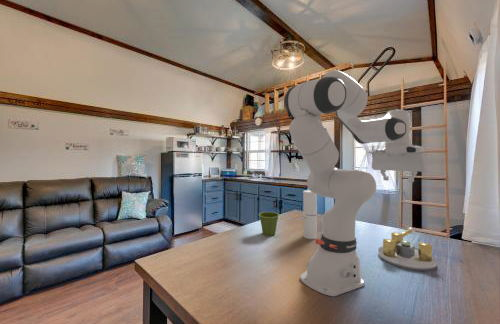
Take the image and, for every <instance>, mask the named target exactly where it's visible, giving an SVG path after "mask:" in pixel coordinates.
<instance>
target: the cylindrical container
mask: <svg viewBox="0 0 500 324" xmlns="http://www.w3.org/2000/svg"><path fill="white" fill-rule="evenodd" d="M302 193H303V194H302V198H303V200H302V201H303V203H302V211H303V215H302V216H303V219H302V222H303V225H302V227H303V230H302V235H303V238H304V239H308V240H314V239H315V240H316V239H317V238H318V230H317V229H318V225H317V224H318V214H317V213H318V206H317V205H318V198H317V197H318V195H317V194H315V193H313V192H311V191H310V190H307V189H306V190H303V191H302Z"/></svg>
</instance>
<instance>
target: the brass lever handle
mask: <svg viewBox="0 0 500 324" xmlns="http://www.w3.org/2000/svg"><path fill="white" fill-rule="evenodd" d="M414 233H415V229H414V228H413V227H408V228H407V229H406V230H404V231H403V232H401V233H400V232H391V237H390V239H391V240H394V241H395V248H396V245H397V244H398V243H400V242H401V241H402V240H404V238H405V237H406V236H408V235H413V234H414Z"/></svg>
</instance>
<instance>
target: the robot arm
mask: <svg viewBox="0 0 500 324" xmlns="http://www.w3.org/2000/svg"><path fill="white" fill-rule="evenodd" d="M283 103H284V108H285V111H286V114H287V117H288V118H289V119H290V120H291V122H290V123H289V127H288V131H289V134H290V137H291V139H292V142H293V143H294V145H295V147H296V149H297V150H298V152H299V154H300V155H301V157H302V159H303V160H304V163H305V164H306V165H307V166H308V169H309V174H308V176H307V179H306V185H307V188H308V189H309V190H310V191H311V192H313V193H315V194H317V196H320V197H325V198H329V199H334V205H333V207H331V208H329V209H327V210H326V211H325V212H324V213H323V215H322V234H321V235H320V238H318V237H317V238H316V239H315V241H314V242H315V244H316V245H319V247H318V248H317V250H316V251H315V252H314V253H313V255H312V256H311V257H310V259H309V260H308V262H307V268H306V270H305V271H304V272H303V273H301V274H300V276H299V279H300V281H301V282H302V283H303V284H305V286H307V287H309V288H310V289H312V290H314V291H315V292H318V293H320V294H323V295H326V296H330V297H336V296H339V295H342V294H344V293H347V292H350V291H353V290H356V289H358V288H361V287H365V280H364V279H363V278H362V271H361V260H360V257H359V256H358V254H357V251H356V250H357V244H358V243H357V237H356V220H357V216H358V213H359V211H360V209H361V208H362V206H363V205H364V204H365V203H367V202H368V201H370V200H372V199H373V198H374V196H375V194H376V192H377V181H376V180H375V178H374V176H373V174H371V173H369V172H366V171H363V170H359V169H345V168H344V169H343V168H342V169H341V168H338V167H336V165H337V163H338V161H339V158H340V152H339V150H338V147H337V146H336V145H335V142H334V141H333V139H332V138H331V135H330V134H329V132H328V131H327V129H326V127H324V125H323V123H322V122H323V121H322V115H329V114H332V113H334V112H335V115H336V117H337V119H338V120H339V121H340V122H339V123H341V124H342V126H344V128H346V129H347V130H348V131H349V132H350V134H351V135H352V137H353V138H354V141H356V142H357V143H358V144H360V145H363V144H364V145H365V144H370V143H371V144H372V143H373V144H374V143H383V142H384V145H385V146H384V147H385V148H382V149H375V150H373V151H372V153H371V157H372V159H371V168H372V169H373V170H374V171H379V172H380V174H381V176H382V177H383V181H389V175H386V173H387V172H386V171H393V172H394V171H395V172H411V173H410V174H411V176H410V177H407V180H408V181H407V182H408V183H414V182H415V177H416V176H417V174H418V172H421V173H422V172H426V171H427V170H429V163H428V157H427V155H426V153H424V152H425V147H424V146H421V145H416V144H411V139H410V132H411V131H410V130H411V125H410V117H409V113H408V111H407V110H405V109H397V108H396V109H391V110H388V111H386V114H385V116H384V117H381V118H377V119H369V120H367V119H366V120H361V119H360V118H359V117H358V116H359V115H360V114H361V113H362V112H363V111H364V110H365V108H366V107H367V104H368V93H367V92H366V89H365V88H364V87H363V86H362V84H360V83H358V81H356V80H355V79H354V78H353V77H351V76H349V75H348V74H347V73H345V72H342V71H341V70H338V69H334V70H330V71H328V72H326V73H325V74H324V75H323V76H322V77H321V78H318V79H312V80H311V79H310V80H306V81H304V82H301V83H300V84H295V85H293V86H292V87H290V88H289V89H288V90H287V91H286V92H285V95H284V98H283Z"/></svg>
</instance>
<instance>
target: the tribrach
mask: <svg viewBox="0 0 500 324" xmlns="http://www.w3.org/2000/svg"><path fill="white" fill-rule="evenodd" d="M417 243H418V244H417V246H418V247H417V248H418V249H417V248H416V246H415V245H414V244H411V242H410V241H409V240H404V239H403V240H402V241H401V242H400V243H398V244H397V245H396V248H395V241H394V240H391V238H383V239H382V246H380V247H379V248H378V250H377V253H378V254H377V255H378V257H379V258H380V259H381V260H382V261H384V262H386V263H388V264H390V265H392V266H395V267H398V268H401V269H406V270H411V271H418V272H425V271H427V272H429V271H433V270H435V269H436V268H437V260H436V258H435V257H434V256H433V244H430V243H428V242H423V241H422V242H421V241H420V242H417Z"/></svg>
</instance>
